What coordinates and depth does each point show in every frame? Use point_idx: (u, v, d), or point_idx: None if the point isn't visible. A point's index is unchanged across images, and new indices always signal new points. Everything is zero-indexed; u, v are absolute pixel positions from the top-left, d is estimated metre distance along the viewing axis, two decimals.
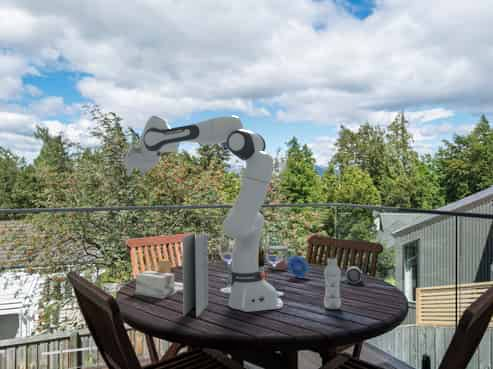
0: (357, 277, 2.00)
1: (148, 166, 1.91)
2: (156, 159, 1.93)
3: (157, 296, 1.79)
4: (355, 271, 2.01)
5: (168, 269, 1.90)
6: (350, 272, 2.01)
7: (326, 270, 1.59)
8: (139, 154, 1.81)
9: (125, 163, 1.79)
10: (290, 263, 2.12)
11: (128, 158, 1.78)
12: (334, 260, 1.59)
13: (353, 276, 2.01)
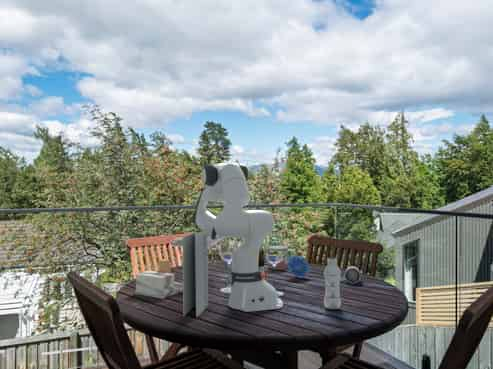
0: (356, 277, 2.01)
1: None
2: None
3: (157, 296, 1.79)
4: (354, 271, 2.01)
5: (168, 269, 1.90)
6: (349, 272, 2.02)
7: (326, 270, 1.59)
8: None
9: None
10: (290, 263, 2.12)
11: None
12: (334, 260, 1.59)
13: (352, 276, 2.01)
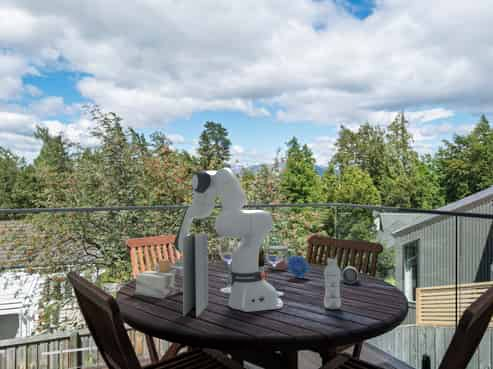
0: (353, 277, 2.01)
1: (178, 267, 1.93)
2: None
3: (157, 296, 1.79)
4: (351, 271, 2.01)
5: (168, 269, 1.90)
6: (346, 272, 2.02)
7: (326, 270, 1.59)
8: (170, 263, 2.03)
9: None
10: (290, 263, 2.12)
11: None
12: (334, 260, 1.59)
13: (349, 276, 2.01)
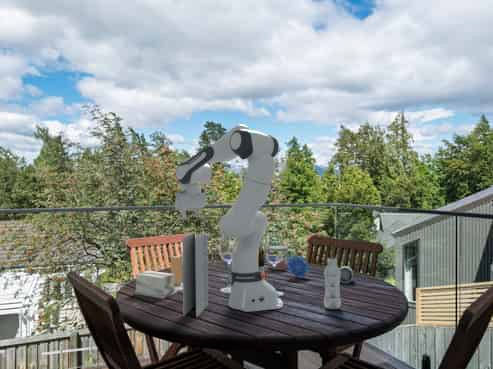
0: (348, 277, 2.01)
1: (198, 205, 2.03)
2: (203, 197, 2.06)
3: (157, 296, 1.79)
4: (346, 271, 2.02)
5: (180, 266, 1.97)
6: (341, 272, 2.02)
7: (326, 270, 1.59)
8: (186, 195, 1.95)
9: (177, 207, 1.92)
10: (290, 263, 2.12)
11: (178, 201, 1.92)
12: (334, 260, 1.59)
13: (344, 276, 2.02)
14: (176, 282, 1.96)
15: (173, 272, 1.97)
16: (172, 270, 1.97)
